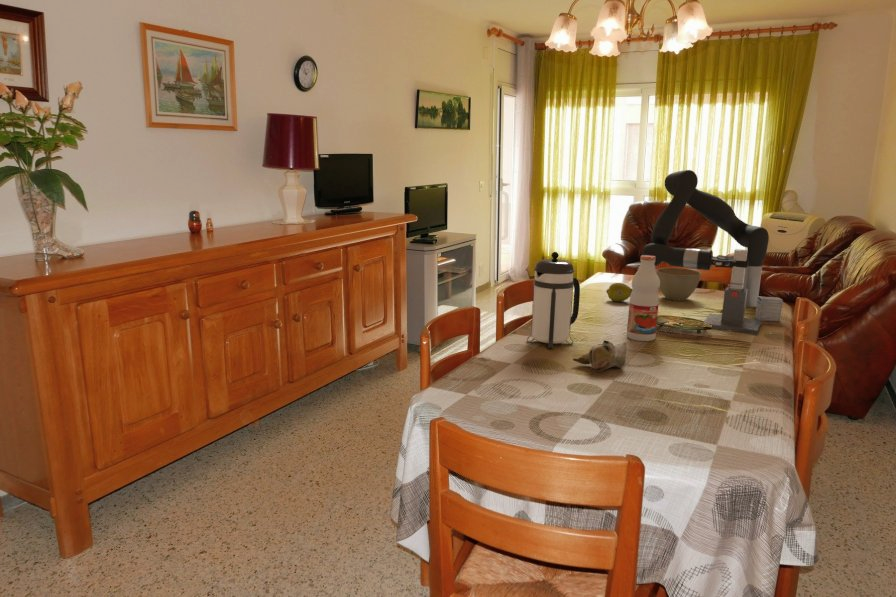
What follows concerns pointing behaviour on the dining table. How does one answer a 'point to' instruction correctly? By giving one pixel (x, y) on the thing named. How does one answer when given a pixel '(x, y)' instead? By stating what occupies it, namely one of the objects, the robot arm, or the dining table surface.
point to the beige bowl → (678, 282)
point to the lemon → (619, 292)
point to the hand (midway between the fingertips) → (747, 263)
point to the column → (738, 271)
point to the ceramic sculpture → (604, 356)
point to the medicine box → (768, 308)
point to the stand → (734, 314)
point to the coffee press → (554, 301)
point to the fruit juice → (644, 301)
